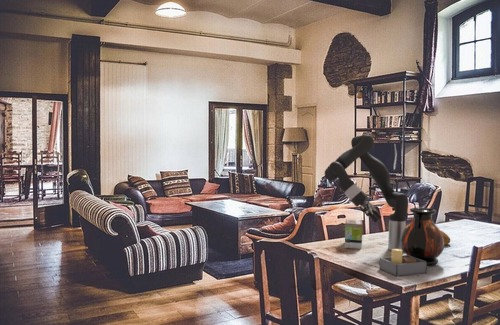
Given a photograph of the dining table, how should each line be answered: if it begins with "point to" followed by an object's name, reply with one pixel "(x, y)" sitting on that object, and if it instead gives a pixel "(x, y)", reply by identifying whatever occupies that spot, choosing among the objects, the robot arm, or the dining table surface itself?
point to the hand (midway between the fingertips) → (378, 219)
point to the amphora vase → (422, 237)
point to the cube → (409, 260)
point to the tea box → (353, 234)
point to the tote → (403, 266)
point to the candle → (396, 256)
